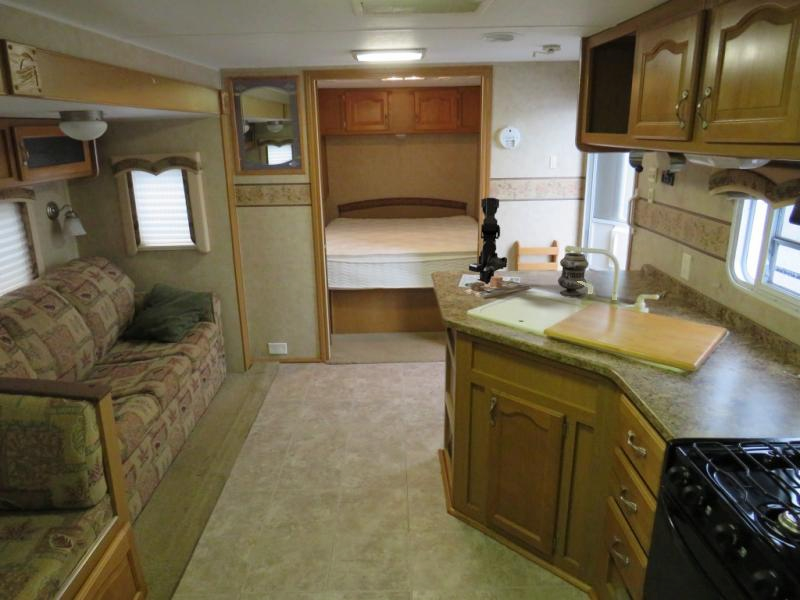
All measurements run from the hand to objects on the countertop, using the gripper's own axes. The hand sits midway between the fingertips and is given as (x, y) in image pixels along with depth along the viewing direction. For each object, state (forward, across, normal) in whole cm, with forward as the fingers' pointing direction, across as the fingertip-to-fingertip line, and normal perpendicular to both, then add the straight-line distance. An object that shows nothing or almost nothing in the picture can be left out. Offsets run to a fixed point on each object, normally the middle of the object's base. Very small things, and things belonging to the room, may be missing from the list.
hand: (487, 284), depth 247 cm
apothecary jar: (+3, +25, -27) cm, 37 cm away
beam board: (+3, +4, -3) cm, 6 cm away
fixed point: (+2, -6, -3) cm, 7 cm away
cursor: (+2, +6, -3) cm, 7 cm away
